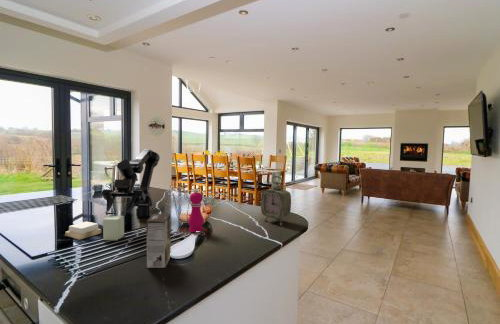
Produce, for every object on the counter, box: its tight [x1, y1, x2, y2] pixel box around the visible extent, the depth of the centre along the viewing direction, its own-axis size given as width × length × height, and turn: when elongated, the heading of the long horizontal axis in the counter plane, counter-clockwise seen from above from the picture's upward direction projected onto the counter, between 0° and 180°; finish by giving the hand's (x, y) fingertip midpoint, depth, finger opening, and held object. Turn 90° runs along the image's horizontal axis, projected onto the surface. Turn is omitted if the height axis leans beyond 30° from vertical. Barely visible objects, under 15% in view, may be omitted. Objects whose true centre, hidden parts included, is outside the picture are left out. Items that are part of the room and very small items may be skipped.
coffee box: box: [146, 213, 172, 269], centre depth 96 cm, size 9×6×16 cm
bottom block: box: [64, 228, 102, 241], centre depth 123 cm, size 10×10×2 cm
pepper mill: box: [187, 188, 205, 234], centre depth 131 cm, size 7×7×20 cm
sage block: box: [102, 215, 125, 241], centre depth 120 cm, size 6×6×9 cm
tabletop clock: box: [260, 175, 292, 226], centre depth 147 cm, size 14×9×25 cm, turn 47°
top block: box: [68, 221, 99, 234], centre depth 123 cm, size 8×8×2 cm
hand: (117, 210), depth 123 cm, fingers open, 9 cm apart
